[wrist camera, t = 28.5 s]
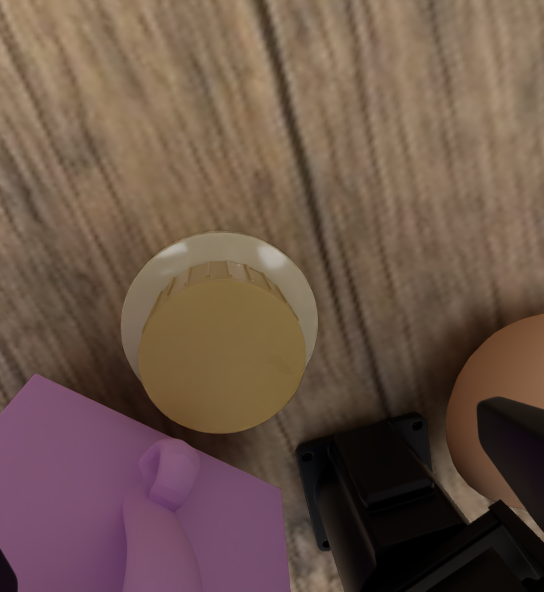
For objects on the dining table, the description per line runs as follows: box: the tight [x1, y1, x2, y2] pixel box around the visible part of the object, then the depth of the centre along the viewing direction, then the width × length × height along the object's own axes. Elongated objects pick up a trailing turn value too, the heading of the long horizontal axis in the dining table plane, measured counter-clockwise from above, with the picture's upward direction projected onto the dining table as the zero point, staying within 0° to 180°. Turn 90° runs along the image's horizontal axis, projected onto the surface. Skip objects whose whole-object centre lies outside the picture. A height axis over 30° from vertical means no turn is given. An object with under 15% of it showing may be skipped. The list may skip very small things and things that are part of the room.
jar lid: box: [138, 260, 306, 434], centre depth 15 cm, size 6×6×3 cm
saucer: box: [121, 230, 318, 384], centre depth 17 cm, size 8×8×1 cm
